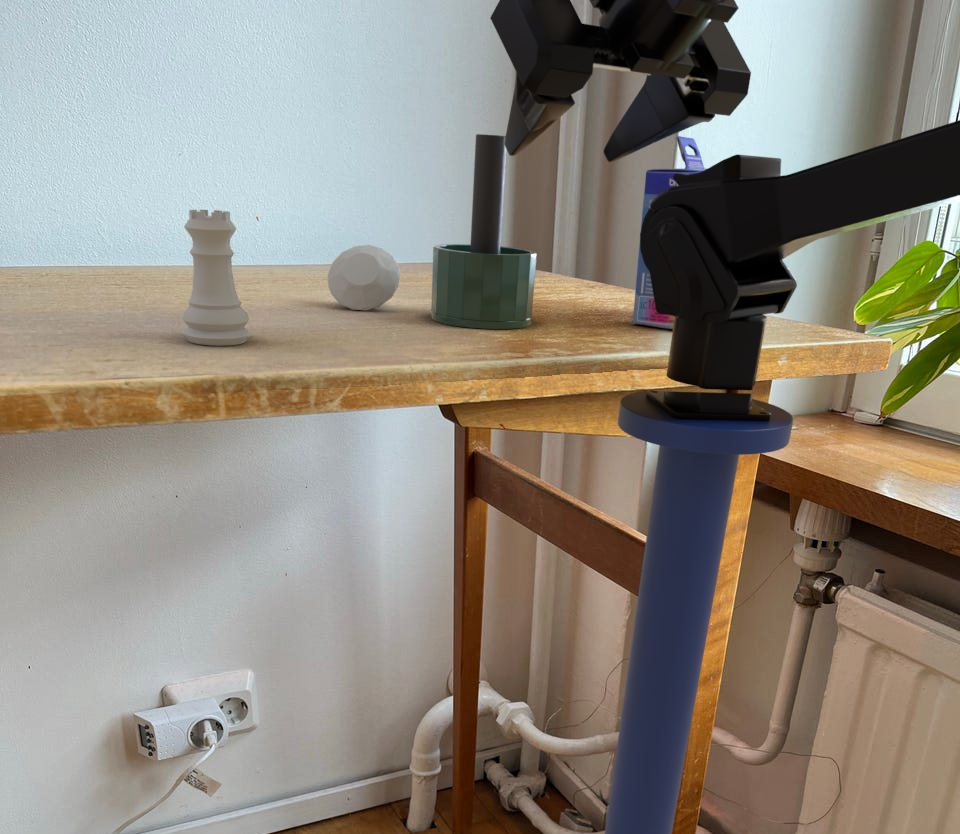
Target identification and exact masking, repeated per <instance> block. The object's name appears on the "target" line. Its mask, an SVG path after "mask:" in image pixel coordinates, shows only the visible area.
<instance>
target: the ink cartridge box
mask: <svg viewBox="0 0 960 834" xmlns="http://www.w3.org/2000/svg"><path fill="white" fill-rule="evenodd" d="M676 142H677V145H678V149H679V152H680V156H681V159H682V161H683V162H684V168H652V169H646V170H645V180H644V181H645V182H644V191H643V201H642V202H643V203H642V213H641V224H640V225H641V226H640V229H641V228H642V224H643V219H644V217H645V215H646V213H647V212H648V210H649V208H650V203H651V201H652V200H653V199H654V198H655V197H656V196H657V195H658V194H660V193H662V192H663V191H665V190H667V189H669V188H672V187H676V186H678V184H677V183H676V182H675V180H674V179H673V176H674V174H676V173H681V174H695V173H699V172H702V171H704V170H706V169H707V168H705V166H704V162H703V159H702V156H701V151H700V149H699V146H698V144H697V142H696V140H695V138H692V137H686V136H680V135H676ZM686 147H688V148H690V149H691V150H693V153H694V154H688V153H687V150H686ZM637 257H638V258H637V269H636V277H635V293H634V303H633V315H632V325H641V326H648V327H653V328H660V329H665V330H673V325H674V318H675V316H672V315H666V314H659V313H657V311H656V307H655V301H654V295H653V289H652V283H651V277H650V272H649V270H648V269H647V267H646V265H645V264H644V261H643V257H642V254H641V250H640V244H639V245H638V256H637Z"/></svg>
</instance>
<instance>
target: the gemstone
mask: <svg viewBox="0 0 960 834" xmlns="http://www.w3.org/2000/svg"><path fill="white" fill-rule="evenodd" d="M400 279H401V272H400V267H399V265H398V262H397V261H396V259H395V258H394V256H393V255H392V254H390V253H389V252H387V251H386V250H385V249H384V248H382V247H378V246H375V245H370V244H364V245H355V246H352V247H350V248H348V249H346V250H344V251H342V252H341V253H340V254H339V255H338V256H337V257H336V258H335V259H334V260H333V261H332V263H331V265H330V267H329V271H328V273H327V286H328V288H329V292H330V294H331V296H332V297H333V299H335V300H336V302H337V303H338V304H339V305H341V306H344V307H346V308H348V309H350V310H351V311H353V310H354V311H355V310H358V311H359V310H360V311H366V312H367V311H369V310H372V309H376V308H380V307H382V306H383V305H384V304H385V303H386V302H388V301H389V300H391V299H392V298H393V296H394V295H395V293H396V292H397V290H398V288H399V286H400Z"/></svg>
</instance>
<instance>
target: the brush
mask: <svg viewBox="0 0 960 834" xmlns="http://www.w3.org/2000/svg"><path fill="white" fill-rule="evenodd" d="M505 137H506V135H497V134H495V135H494V134H482V133H481V134H480V133H476V134H475V143H474V144H475V145H474V165H473V184H472V185H473V187H472V205H471V206H472V209H471V225H470V227H471V228H470V229H471V230H470V244H471V245H470V252H474V253H488V254H500V247H501V246H502V245H501V243H502V228H503V213H504V199H505V183H506V166H507V165H506V164H507V149H506V147H505Z"/></svg>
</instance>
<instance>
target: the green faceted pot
mask: <svg viewBox="0 0 960 834" xmlns="http://www.w3.org/2000/svg"><path fill="white" fill-rule="evenodd" d="M470 245H471V243H443V244H442V243H441V244H435V245H434V246H433V249H432V275H431V277H432V278H431V279H432V281H431V308H430V310H431V311H430V312H431V319H432V320H433V321H434V322H437V323H440V324H444V325H448V326H453V327H461V328H470V329H480V330H481V329H482V330H483V329H484V330H514V329H522V328H527V327H529V326H531V325H532V317H533V306H534V305H533V304H534V294H535V283H536V282H535V281H536V280H535V279H536V268H537V256H538V253H537V251H534V250H531V249H528V248H527V249H526V248H520V247H513V246H512V247H511V246H503V245H501V247H500V254H488V253H474V252H470Z"/></svg>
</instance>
